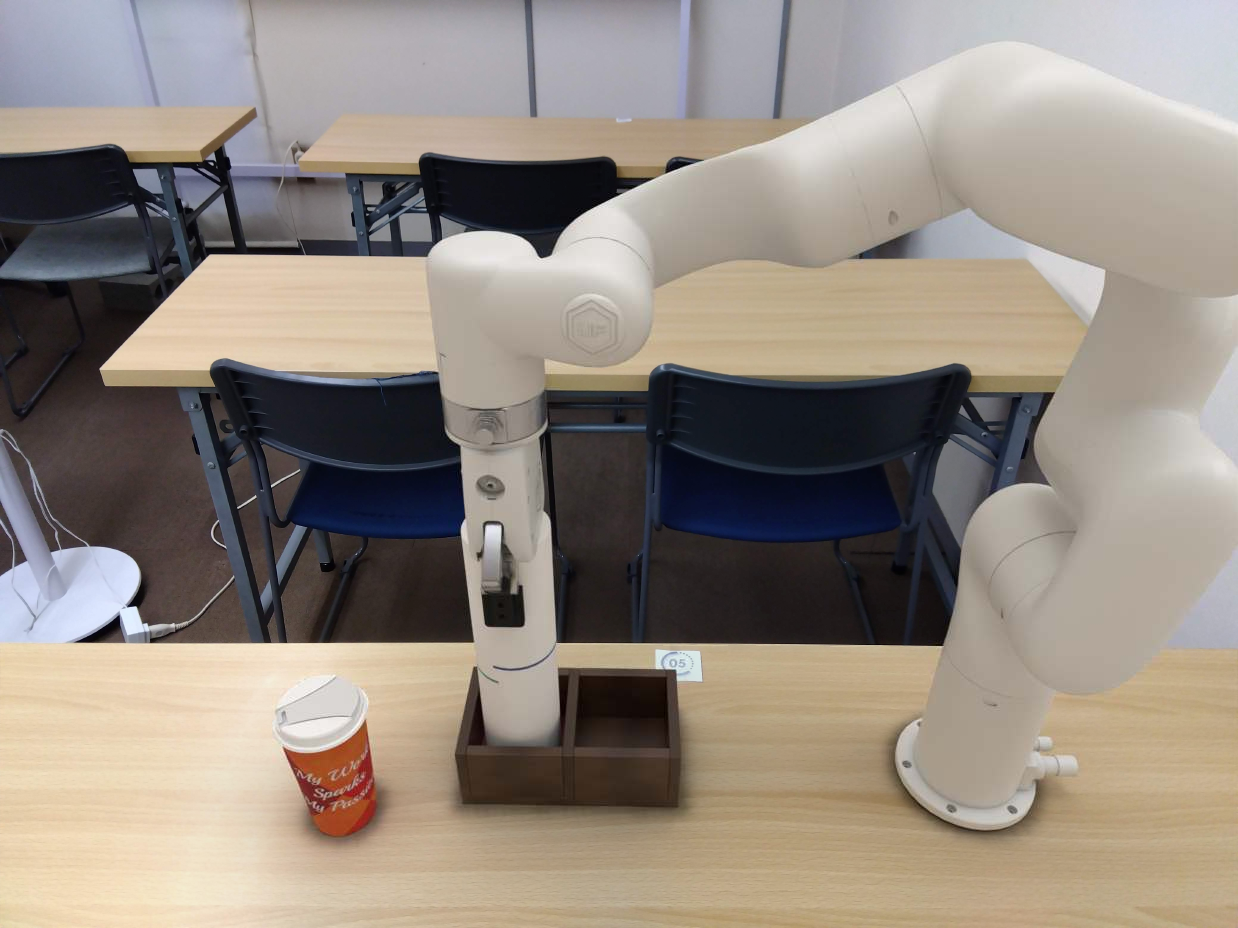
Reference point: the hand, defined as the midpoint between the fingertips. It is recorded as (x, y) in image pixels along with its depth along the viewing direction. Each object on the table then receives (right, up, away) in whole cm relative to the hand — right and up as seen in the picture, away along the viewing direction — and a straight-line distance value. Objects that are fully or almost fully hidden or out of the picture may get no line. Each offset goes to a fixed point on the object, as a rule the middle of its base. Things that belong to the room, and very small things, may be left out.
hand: (511, 590), depth 72 cm
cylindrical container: (0, -16, +10) cm, 18 cm away
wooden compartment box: (+5, -18, +12) cm, 22 cm away
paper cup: (-16, -21, +7) cm, 27 cm away
